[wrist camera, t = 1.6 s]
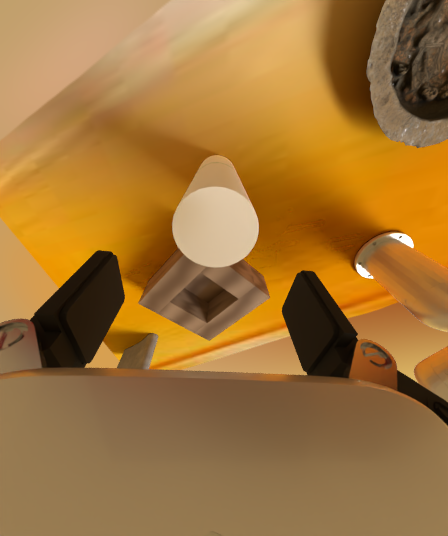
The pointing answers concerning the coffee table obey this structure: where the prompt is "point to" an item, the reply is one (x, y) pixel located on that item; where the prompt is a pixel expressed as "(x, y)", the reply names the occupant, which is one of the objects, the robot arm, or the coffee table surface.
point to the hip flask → (139, 354)
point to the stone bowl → (411, 71)
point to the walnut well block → (204, 294)
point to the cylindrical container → (215, 216)
